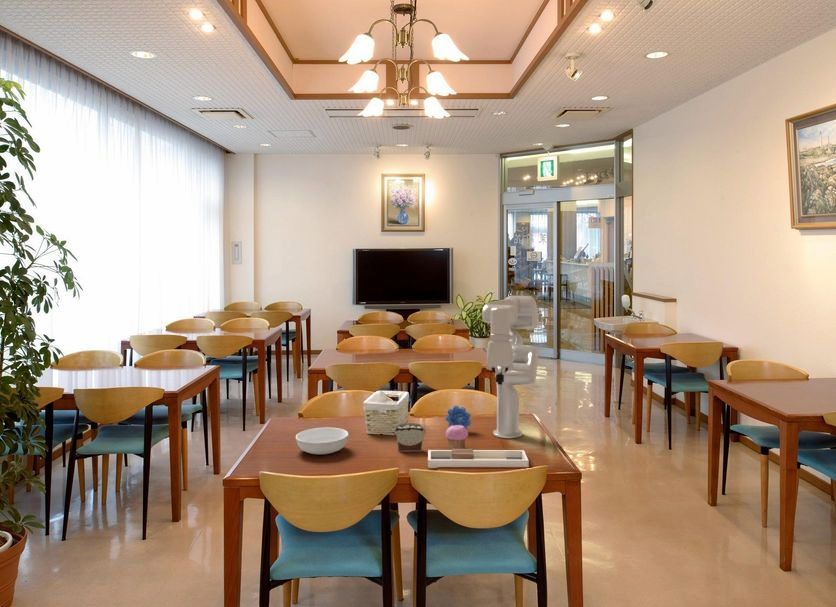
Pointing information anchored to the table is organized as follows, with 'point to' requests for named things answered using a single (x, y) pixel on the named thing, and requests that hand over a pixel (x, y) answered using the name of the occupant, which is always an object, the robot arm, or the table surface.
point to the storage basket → (385, 412)
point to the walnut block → (462, 454)
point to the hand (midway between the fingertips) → (499, 383)
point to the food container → (409, 436)
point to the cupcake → (456, 436)
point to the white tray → (479, 459)
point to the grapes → (458, 417)
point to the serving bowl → (322, 440)
